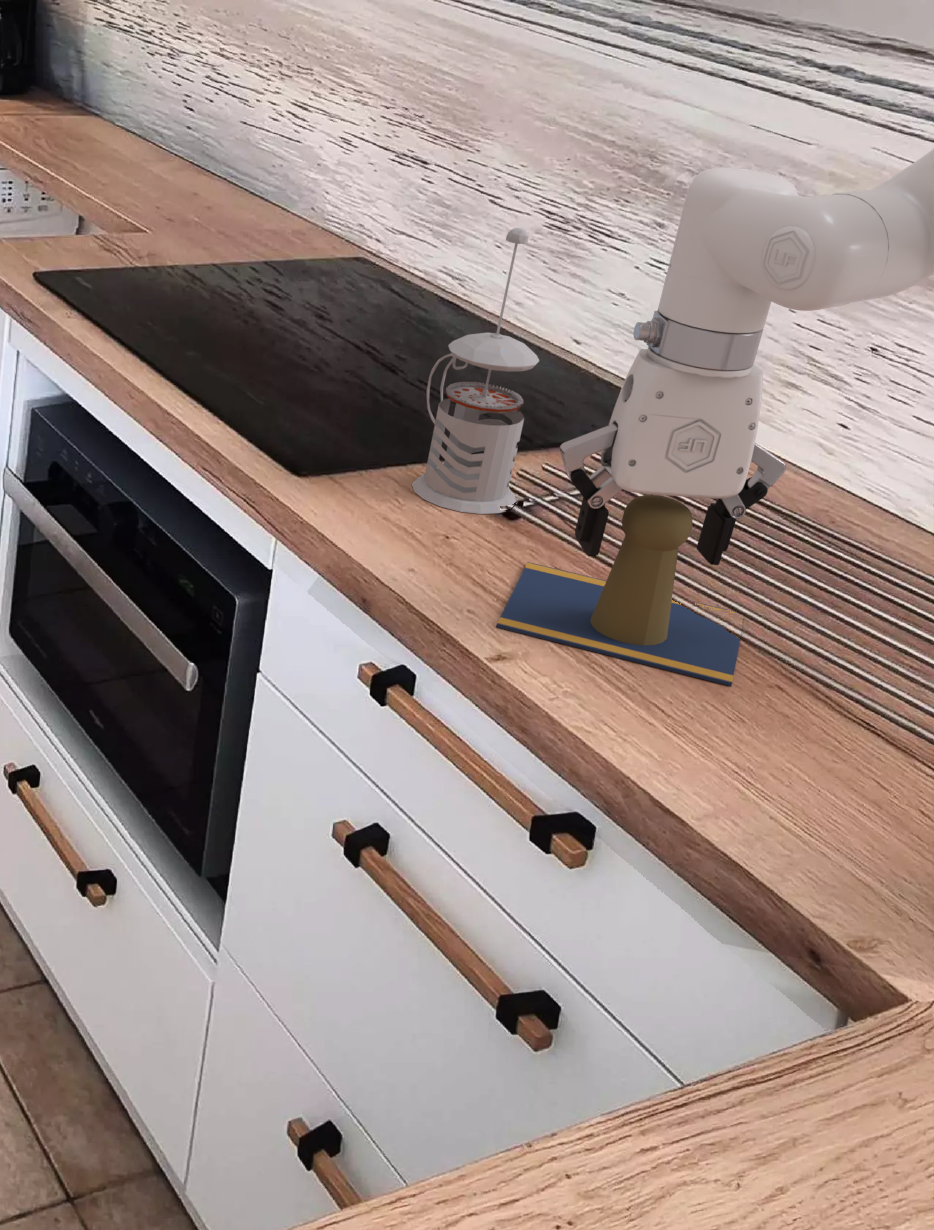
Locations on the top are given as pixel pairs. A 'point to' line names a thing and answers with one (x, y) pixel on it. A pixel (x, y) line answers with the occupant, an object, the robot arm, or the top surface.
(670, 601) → the cork
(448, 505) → the french press
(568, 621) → the cloth
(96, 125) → the top surface
